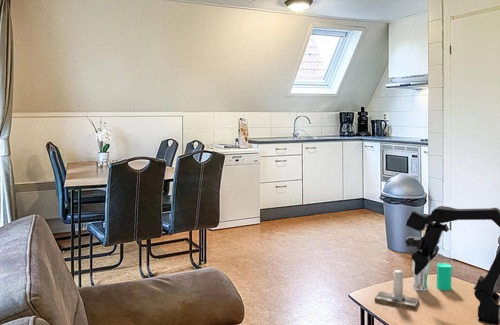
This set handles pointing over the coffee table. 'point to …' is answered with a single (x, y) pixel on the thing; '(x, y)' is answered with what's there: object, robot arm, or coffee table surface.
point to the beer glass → (420, 278)
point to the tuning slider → (398, 286)
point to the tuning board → (405, 303)
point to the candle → (444, 276)
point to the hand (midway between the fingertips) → (418, 270)
